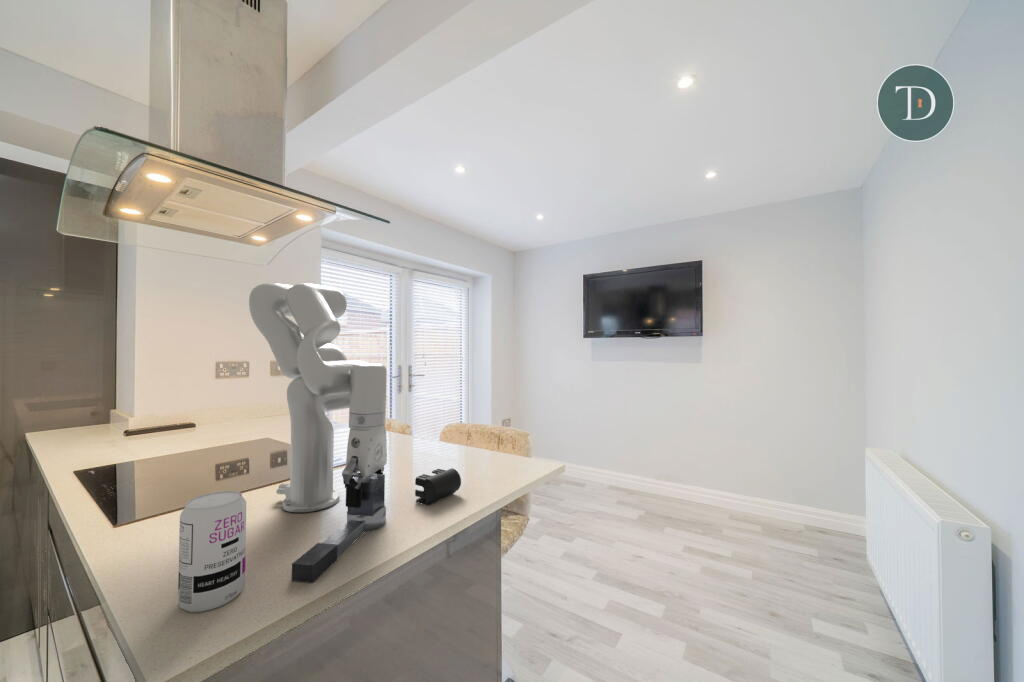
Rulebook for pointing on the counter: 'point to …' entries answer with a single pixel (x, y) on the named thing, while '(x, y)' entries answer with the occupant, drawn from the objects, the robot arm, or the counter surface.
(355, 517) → the ratchet
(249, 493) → the counter surface
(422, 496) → the end cap
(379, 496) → the socket
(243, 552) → the supplement can
